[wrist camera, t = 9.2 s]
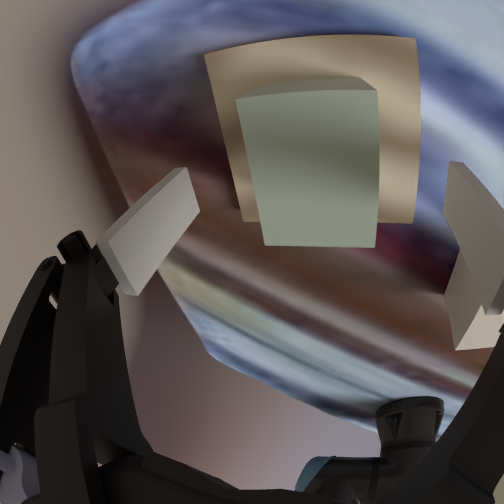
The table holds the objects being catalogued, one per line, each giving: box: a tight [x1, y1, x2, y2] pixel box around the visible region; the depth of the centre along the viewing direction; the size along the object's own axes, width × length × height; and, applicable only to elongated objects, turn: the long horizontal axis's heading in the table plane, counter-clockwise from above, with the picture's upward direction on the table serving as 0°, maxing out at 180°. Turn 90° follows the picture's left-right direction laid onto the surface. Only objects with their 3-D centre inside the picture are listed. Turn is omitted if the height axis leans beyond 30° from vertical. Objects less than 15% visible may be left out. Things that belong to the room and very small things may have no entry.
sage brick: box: [235, 78, 380, 248], centre depth 15 cm, size 8×6×7 cm
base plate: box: [204, 35, 421, 224], centre depth 18 cm, size 14×14×2 cm
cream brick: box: [444, 249, 504, 350], centre depth 19 cm, size 8×6×7 cm
